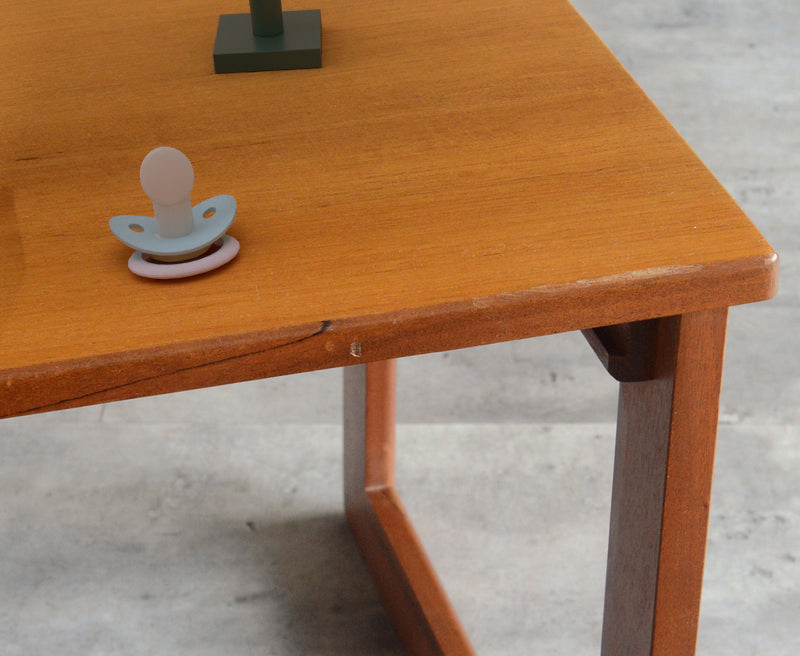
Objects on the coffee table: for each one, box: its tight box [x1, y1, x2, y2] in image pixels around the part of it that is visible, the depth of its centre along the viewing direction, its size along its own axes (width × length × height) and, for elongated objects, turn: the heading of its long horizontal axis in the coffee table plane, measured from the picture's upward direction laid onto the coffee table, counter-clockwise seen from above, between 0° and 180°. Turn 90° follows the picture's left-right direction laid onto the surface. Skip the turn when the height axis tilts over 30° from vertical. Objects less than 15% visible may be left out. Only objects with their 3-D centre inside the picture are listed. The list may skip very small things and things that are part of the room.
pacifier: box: [108, 146, 241, 280], centre depth 67 cm, size 7×6×6 cm
